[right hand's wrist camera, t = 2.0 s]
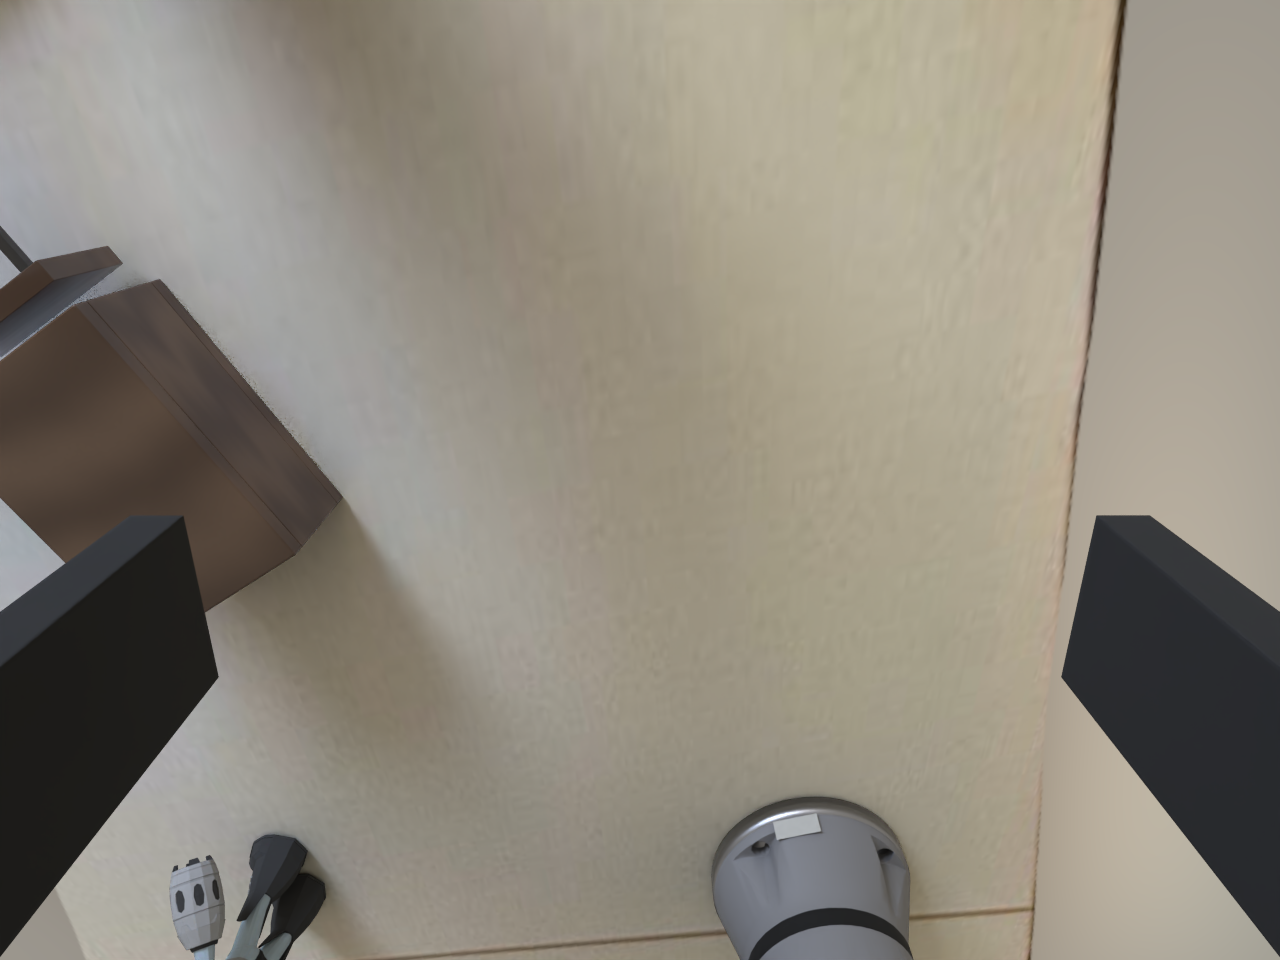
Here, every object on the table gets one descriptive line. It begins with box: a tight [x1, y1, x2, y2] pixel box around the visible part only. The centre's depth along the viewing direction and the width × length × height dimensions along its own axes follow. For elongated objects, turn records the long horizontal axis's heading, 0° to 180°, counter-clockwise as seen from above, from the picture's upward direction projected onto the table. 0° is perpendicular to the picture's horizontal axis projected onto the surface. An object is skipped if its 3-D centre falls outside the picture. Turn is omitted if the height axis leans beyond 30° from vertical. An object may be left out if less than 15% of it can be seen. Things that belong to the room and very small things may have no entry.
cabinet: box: [0, 279, 343, 612], centre depth 51 cm, size 17×11×8 cm
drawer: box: [0, 226, 122, 357], centre depth 49 cm, size 21×10×6 cm, turn 33°
